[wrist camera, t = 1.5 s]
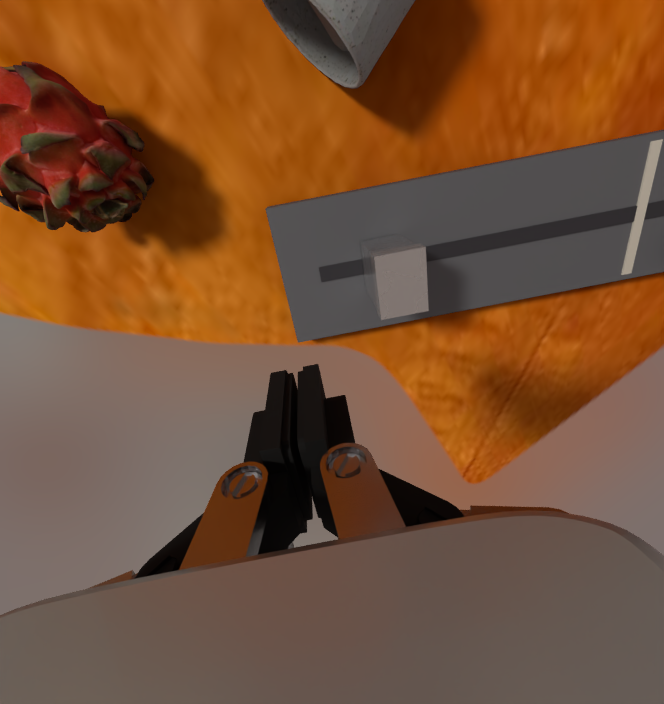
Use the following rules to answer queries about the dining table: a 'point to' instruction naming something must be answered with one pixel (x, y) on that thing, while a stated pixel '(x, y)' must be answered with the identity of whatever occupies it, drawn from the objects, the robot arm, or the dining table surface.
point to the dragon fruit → (65, 153)
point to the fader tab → (395, 275)
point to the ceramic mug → (340, 33)
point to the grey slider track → (480, 233)
